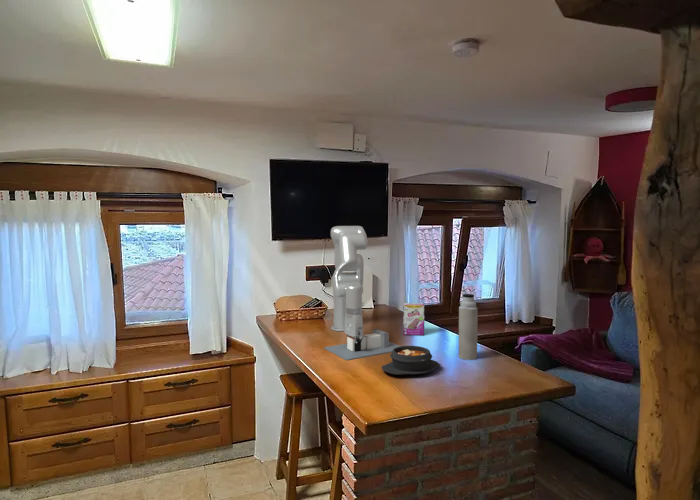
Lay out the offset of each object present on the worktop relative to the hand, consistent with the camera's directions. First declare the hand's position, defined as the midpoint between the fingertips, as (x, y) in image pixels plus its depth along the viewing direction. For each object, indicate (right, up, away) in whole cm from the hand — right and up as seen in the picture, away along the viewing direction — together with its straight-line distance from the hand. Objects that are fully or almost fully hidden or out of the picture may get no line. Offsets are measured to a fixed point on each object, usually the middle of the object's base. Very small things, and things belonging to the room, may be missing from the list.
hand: (354, 349), depth 215 cm
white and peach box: (+1, -1, +1) cm, 1 cm away
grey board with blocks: (+5, 0, +3) cm, 6 cm away
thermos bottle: (+50, -1, -12) cm, 51 cm away
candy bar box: (+32, +1, +28) cm, 43 cm away
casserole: (+23, -3, -28) cm, 36 cm away
